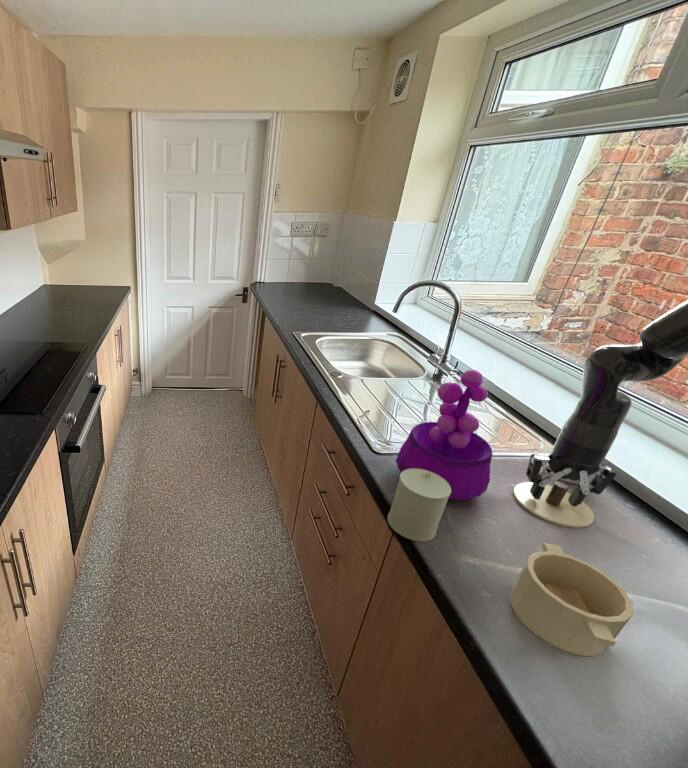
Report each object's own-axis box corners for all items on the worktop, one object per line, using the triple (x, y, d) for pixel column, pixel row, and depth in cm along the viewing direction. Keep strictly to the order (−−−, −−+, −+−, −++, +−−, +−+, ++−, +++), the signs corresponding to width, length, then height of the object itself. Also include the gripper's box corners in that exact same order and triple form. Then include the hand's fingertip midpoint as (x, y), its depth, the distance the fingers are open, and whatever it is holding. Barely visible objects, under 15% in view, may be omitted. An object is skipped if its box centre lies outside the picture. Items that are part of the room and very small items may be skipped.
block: (565, 607, 71) (576, 590, 69) (579, 631, 67) (591, 614, 65) (535, 600, 72) (545, 583, 70) (546, 623, 68) (557, 606, 66)
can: (437, 520, 89) (454, 476, 84) (433, 548, 83) (450, 503, 77) (391, 503, 94) (403, 460, 89) (383, 529, 87) (396, 485, 82)
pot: (576, 583, 75) (597, 550, 71) (635, 686, 60) (666, 651, 56) (495, 564, 79) (511, 532, 75) (531, 657, 64) (553, 622, 60)
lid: (573, 493, 96) (585, 472, 93) (605, 537, 85) (619, 514, 82) (503, 480, 100) (512, 460, 98) (524, 520, 89) (535, 498, 86)
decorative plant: (391, 495, 96) (425, 380, 83) (393, 452, 111) (421, 348, 98) (488, 521, 89) (542, 399, 75) (476, 471, 104) (519, 361, 90)
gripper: (551, 441, 83) (520, 504, 91) (642, 454, 79) (602, 520, 86) (536, 422, 90) (509, 482, 97) (620, 434, 85) (585, 496, 93)
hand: (553, 500), depth 92 cm, fingers open, 6 cm apart
